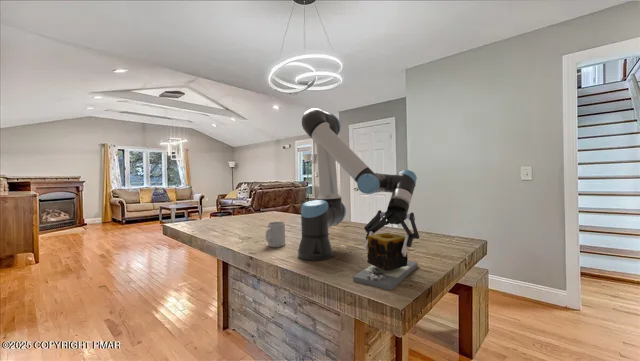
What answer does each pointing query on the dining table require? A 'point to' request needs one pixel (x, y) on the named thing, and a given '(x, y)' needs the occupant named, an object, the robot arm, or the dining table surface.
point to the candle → (386, 251)
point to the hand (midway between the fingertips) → (384, 251)
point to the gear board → (384, 276)
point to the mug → (275, 234)
